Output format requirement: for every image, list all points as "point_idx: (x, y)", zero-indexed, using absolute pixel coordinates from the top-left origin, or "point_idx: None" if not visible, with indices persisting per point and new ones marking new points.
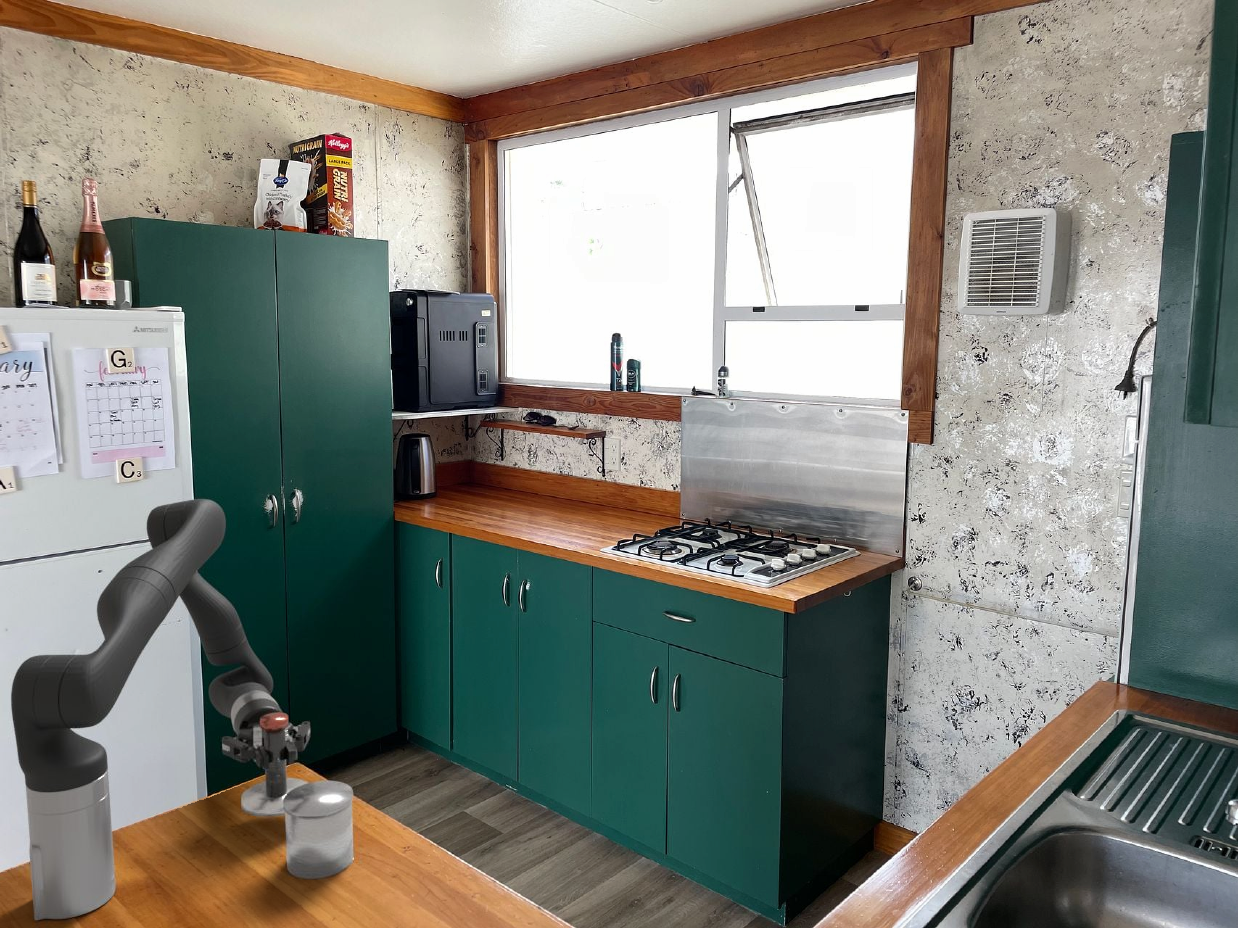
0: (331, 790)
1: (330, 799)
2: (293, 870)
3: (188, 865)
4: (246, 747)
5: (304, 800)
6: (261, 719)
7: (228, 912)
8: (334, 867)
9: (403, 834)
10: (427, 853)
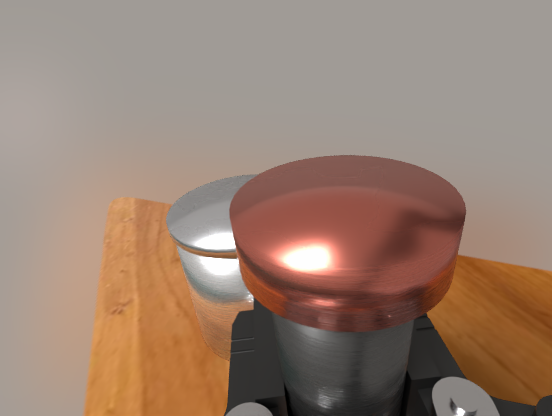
0: (208, 215)
1: (223, 194)
2: None
3: (542, 390)
4: (540, 399)
5: None
6: (441, 187)
7: None
8: None
9: (91, 349)
10: (106, 289)
